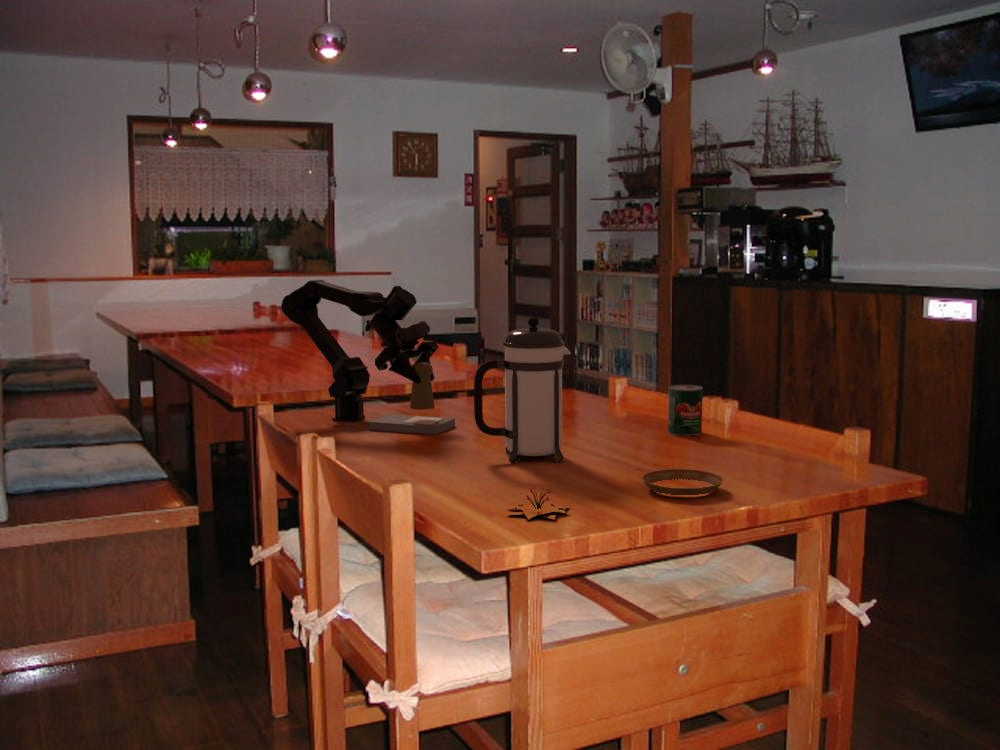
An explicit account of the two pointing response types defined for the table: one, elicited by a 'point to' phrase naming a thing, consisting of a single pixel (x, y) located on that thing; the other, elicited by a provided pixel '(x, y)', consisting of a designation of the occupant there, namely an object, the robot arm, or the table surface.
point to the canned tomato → (685, 410)
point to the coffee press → (528, 392)
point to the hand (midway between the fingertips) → (426, 381)
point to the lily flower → (540, 500)
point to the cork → (422, 388)
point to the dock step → (412, 424)
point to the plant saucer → (683, 474)
